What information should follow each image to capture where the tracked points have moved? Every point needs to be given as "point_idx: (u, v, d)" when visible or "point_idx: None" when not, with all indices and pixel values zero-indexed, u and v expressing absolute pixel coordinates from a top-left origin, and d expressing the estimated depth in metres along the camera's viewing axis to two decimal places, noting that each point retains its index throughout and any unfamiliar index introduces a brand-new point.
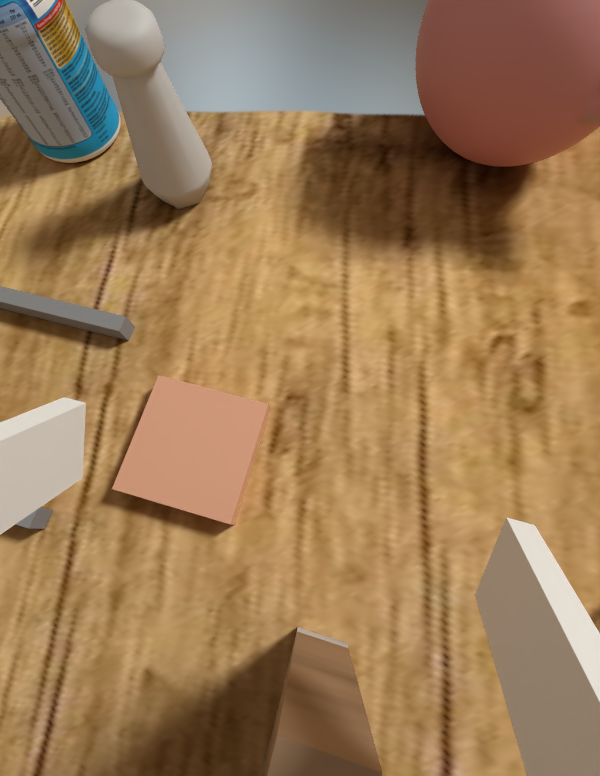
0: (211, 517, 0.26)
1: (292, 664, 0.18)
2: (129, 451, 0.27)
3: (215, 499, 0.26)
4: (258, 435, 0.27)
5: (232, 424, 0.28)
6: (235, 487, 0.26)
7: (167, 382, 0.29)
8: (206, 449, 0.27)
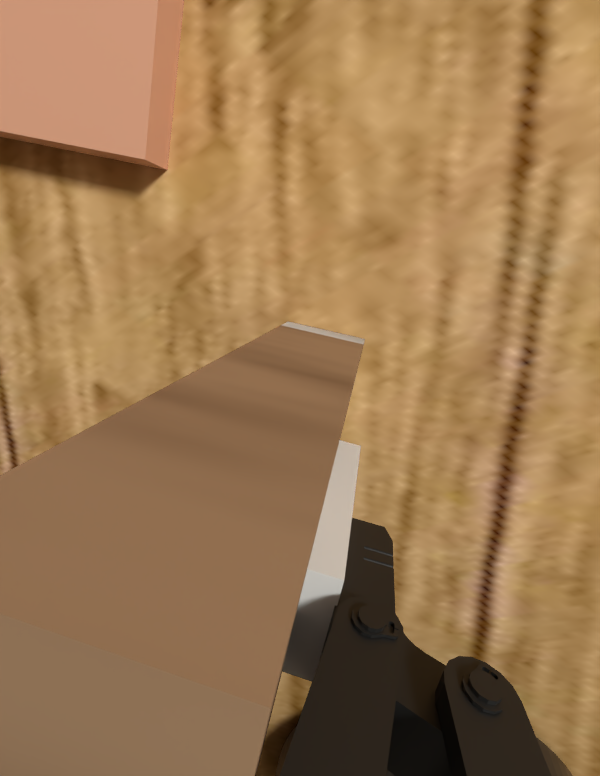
0: (111, 150, 0.14)
1: (219, 360, 0.09)
2: None
3: (110, 112, 0.14)
4: None
5: None
6: (139, 82, 0.13)
7: None
8: (68, 4, 0.13)
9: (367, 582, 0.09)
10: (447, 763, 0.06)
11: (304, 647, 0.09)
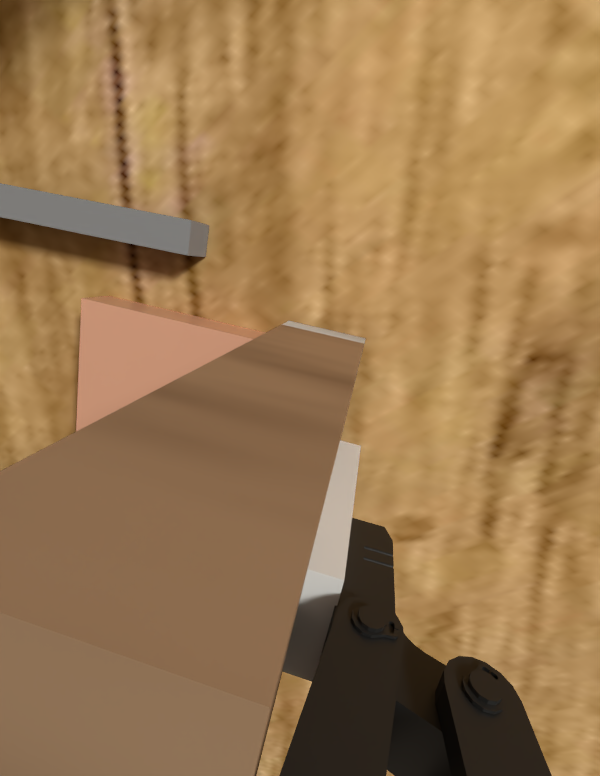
0: None
1: (220, 359, 0.09)
2: (78, 427, 0.18)
3: None
4: None
5: None
6: None
7: (100, 311, 0.16)
8: None
9: (367, 582, 0.09)
10: (447, 763, 0.06)
11: (304, 648, 0.09)
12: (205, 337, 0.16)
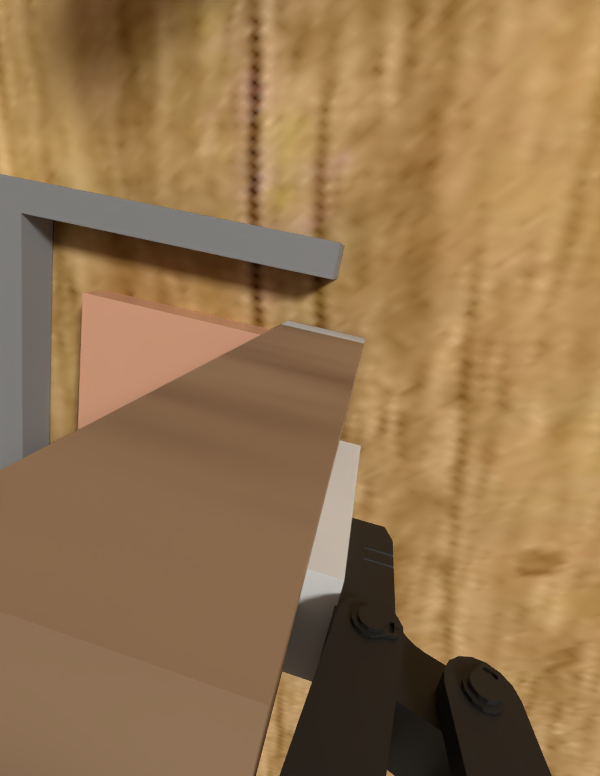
0: None
1: (219, 358, 0.09)
2: (80, 421, 0.18)
3: None
4: None
5: None
6: None
7: (101, 305, 0.16)
8: None
9: (367, 582, 0.09)
10: (447, 763, 0.06)
11: (304, 647, 0.09)
12: (206, 331, 0.16)
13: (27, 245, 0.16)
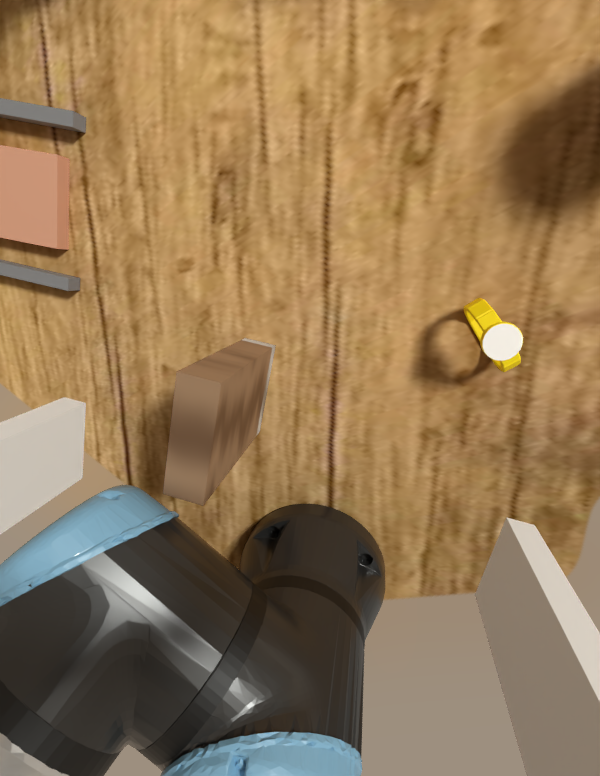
0: (45, 245, 0.39)
1: (217, 352, 0.33)
2: None
3: (43, 233, 0.39)
4: (58, 182, 0.38)
5: (38, 176, 0.38)
6: (53, 223, 0.39)
7: None
8: (27, 198, 0.38)
9: None
10: None
11: None
12: (29, 154, 0.37)
13: None
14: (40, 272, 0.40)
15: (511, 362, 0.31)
